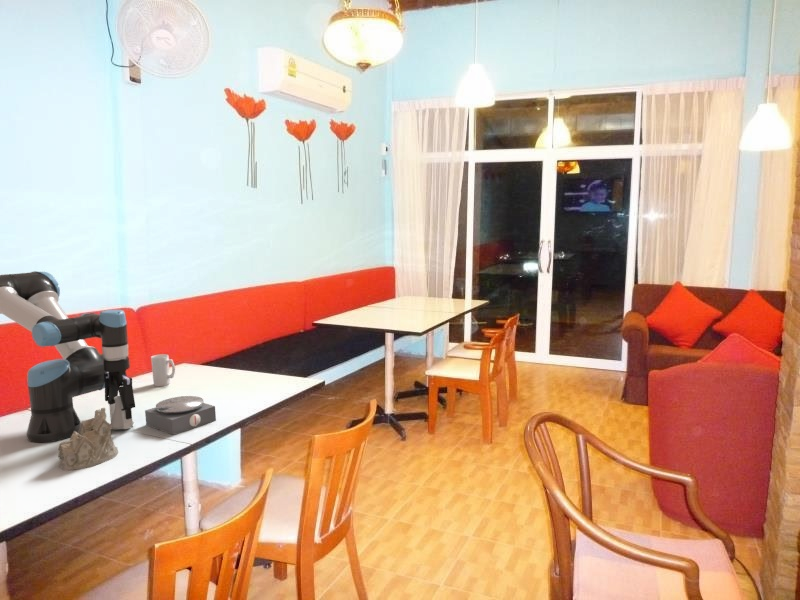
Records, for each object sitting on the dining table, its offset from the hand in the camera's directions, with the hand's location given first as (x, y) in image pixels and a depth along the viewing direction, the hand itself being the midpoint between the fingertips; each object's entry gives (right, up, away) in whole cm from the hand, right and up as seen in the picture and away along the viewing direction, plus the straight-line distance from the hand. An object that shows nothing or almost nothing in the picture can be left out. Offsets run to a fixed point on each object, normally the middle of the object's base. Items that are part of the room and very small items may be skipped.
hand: (121, 425), depth 191 cm
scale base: (+18, 0, +5) cm, 18 cm away
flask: (0, -1, 0) cm, 1 cm away
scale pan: (+18, +6, +4) cm, 19 cm away
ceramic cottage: (+1, -5, -22) cm, 23 cm away
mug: (-6, +6, +51) cm, 51 cm away
